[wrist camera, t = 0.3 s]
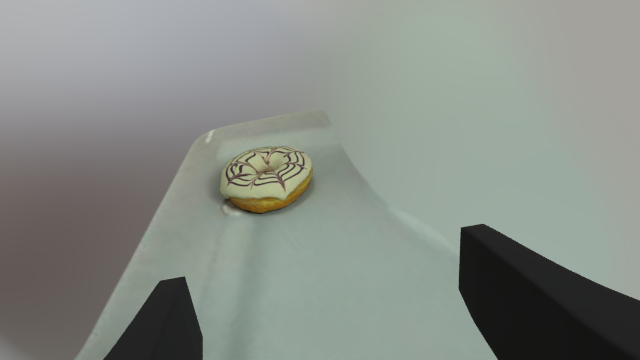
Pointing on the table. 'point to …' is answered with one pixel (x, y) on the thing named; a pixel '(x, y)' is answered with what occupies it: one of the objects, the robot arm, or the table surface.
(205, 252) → the table surface
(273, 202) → the decorated donut
